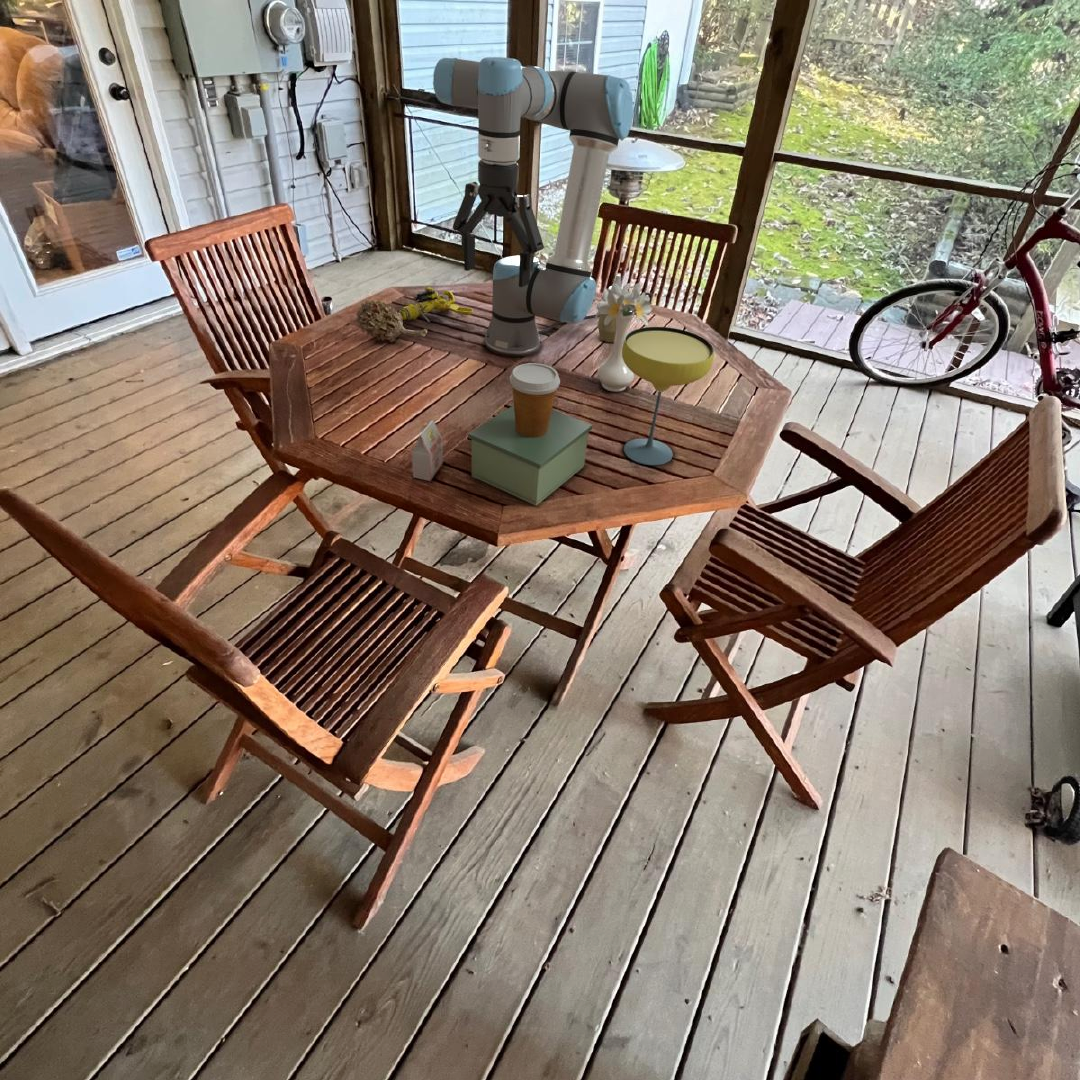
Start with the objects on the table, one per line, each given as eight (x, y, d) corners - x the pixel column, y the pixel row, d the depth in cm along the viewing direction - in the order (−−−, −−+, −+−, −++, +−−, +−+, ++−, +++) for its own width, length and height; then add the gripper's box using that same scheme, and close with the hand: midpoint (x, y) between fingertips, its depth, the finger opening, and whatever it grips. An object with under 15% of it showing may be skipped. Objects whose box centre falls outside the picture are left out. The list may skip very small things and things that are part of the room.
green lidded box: (521, 438, 152) (524, 398, 145) (587, 466, 145) (592, 424, 139) (467, 476, 139) (467, 433, 133) (536, 508, 132) (540, 464, 126)
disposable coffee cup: (550, 445, 132) (555, 388, 124) (502, 437, 133) (504, 380, 125) (559, 421, 139) (564, 366, 131) (513, 414, 140) (516, 358, 132)
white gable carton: (413, 477, 138) (410, 434, 131) (426, 460, 143) (424, 417, 136) (430, 481, 137) (428, 437, 131) (442, 463, 142) (441, 421, 136)
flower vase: (640, 373, 181) (656, 277, 166) (635, 405, 167) (652, 304, 151) (591, 366, 183) (603, 270, 167) (582, 397, 168) (594, 296, 153)
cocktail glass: (688, 481, 143) (716, 370, 127) (603, 468, 145) (619, 356, 129) (689, 437, 157) (714, 332, 141) (611, 426, 159) (627, 321, 143)
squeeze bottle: (628, 338, 199) (638, 275, 187) (615, 347, 193) (625, 282, 182) (604, 330, 202) (612, 268, 190) (590, 339, 196) (598, 275, 185)
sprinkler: (382, 288, 196) (435, 272, 207) (384, 314, 201) (435, 296, 212) (427, 312, 187) (479, 293, 199) (428, 338, 192) (478, 318, 204)
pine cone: (349, 340, 185) (345, 303, 179) (368, 327, 192) (364, 292, 186) (423, 356, 180) (421, 320, 174) (439, 343, 187) (438, 307, 181)
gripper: (432, 151, 128) (436, 266, 142) (544, 176, 119) (537, 297, 133) (457, 145, 133) (459, 257, 147) (566, 169, 124) (557, 286, 138)
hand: (496, 277), depth 140 cm, fingers open, 13 cm apart
